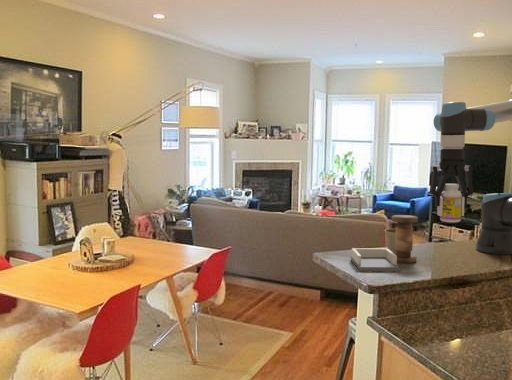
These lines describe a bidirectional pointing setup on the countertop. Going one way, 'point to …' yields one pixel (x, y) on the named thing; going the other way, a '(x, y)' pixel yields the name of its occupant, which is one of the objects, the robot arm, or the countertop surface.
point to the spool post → (404, 238)
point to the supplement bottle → (451, 203)
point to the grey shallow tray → (375, 259)
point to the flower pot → (391, 239)
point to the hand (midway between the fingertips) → (450, 215)
